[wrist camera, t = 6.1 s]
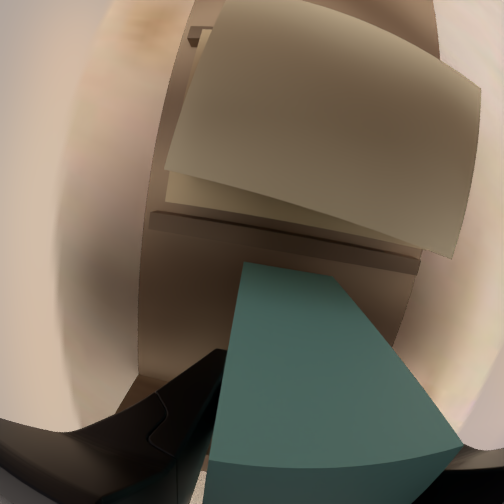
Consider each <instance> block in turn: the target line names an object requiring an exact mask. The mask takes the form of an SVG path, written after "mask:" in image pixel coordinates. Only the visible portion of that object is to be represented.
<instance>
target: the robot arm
mask: <svg viewBox="0 0 504 504" xmlns="http://www.w3.org/2000/svg"><path fill="white" fill-rule="evenodd" d="M227 351H228V350H224V349H219V348H216V349H214V350H213V351H212V352H210V353H209V354H207V355H206V356H205V357H203V358H202V359H201V360H199V361H198V362H196V363H195V364H194V365H192V366H191V367H189V368H188V369H187V370H185V371H184V372H182V373H181V374H179V375H178V376H177V377H175V378H174V379H172V380H171V381H169V382H168V383H166V384H165V385H164V386H162V387H161V388H159V389H158V390H156V391H155V392H153V393H152V394H150V395H149V396H147V397H146V398H144V399H142V400H141V401H139V402H137V403H136V404H134V405H132V406H130V407H128V408H126V409H124V410H123V411H121V412H119V413H116V414H114V415H112V416H110V417H108V418H105V419H103V420H101V421H98V422H96V423H94V424H92V425H89V426H87V427H84V428H82V429H79V430H76V431H72V432H64V433H63V432H53V431H48V430H43V429H39V428H34V427H30V426H26V425H22V424H19V423H15V422H11V421H8V420H5V419H1V418H0V504H189V503H190V500H191V497H192V494H193V491H194V489H195V486H196V483H197V480H198V477H199V474H200V471H201V468H202V465H203V462H204V459H205V456H206V453H207V450H208V447H209V444H210V441H211V438H212V435H213V431H214V425H215V420H216V414H217V408H218V402H219V397H220V391H221V385H222V380H223V374H224V368H225V363H226V357H227ZM411 504H504V448H501V449H496V450H488V451H484V450H478V449H474V448H472V447H469V446H467V445H465V444H464V446H463V447H462V449H461V450H460V451H459V452H458V454H457V455H456V456H455V457H454V459H453V460H452V461H451V462H450V463H449V465H448V466H447V467H446V468H445V469H444V470H443V472H442V473H441V474H440V475H439V476H438V477H437V478H436V479H435V480H434V481H433V482H432V484H431V485H430V486H429V487H428V488H427V489H426V490H425V491H424V492H423V493H422V494H421V495H420V496H419V497H418V498H417V499H416V500H415V501H413V502H412V503H411Z"/></svg>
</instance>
